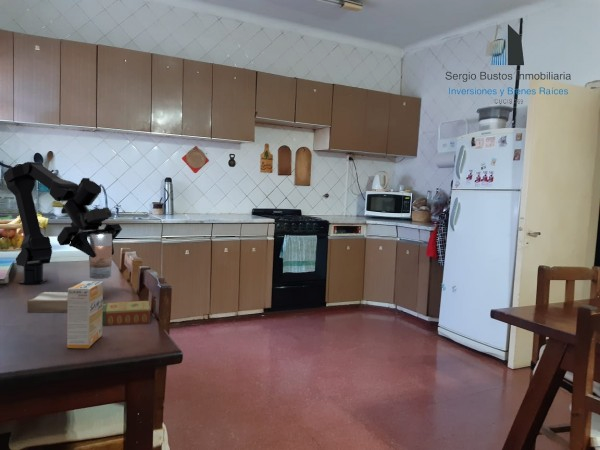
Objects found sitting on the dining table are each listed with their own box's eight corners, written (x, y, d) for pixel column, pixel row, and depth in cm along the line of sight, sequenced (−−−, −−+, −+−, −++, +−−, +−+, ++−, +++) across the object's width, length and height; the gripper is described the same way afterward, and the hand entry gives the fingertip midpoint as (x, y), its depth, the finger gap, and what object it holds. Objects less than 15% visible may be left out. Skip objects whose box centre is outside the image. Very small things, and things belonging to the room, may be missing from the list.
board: (42, 302, 128) (42, 291, 127) (79, 302, 129) (79, 291, 129) (27, 312, 118) (27, 300, 118) (68, 312, 120) (68, 300, 119)
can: (92, 274, 136) (93, 232, 135) (113, 274, 137) (114, 233, 136) (86, 278, 130) (87, 234, 129) (108, 279, 131) (109, 235, 130)
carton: (149, 324, 114) (150, 308, 114) (80, 328, 109) (80, 311, 108) (149, 315, 122) (149, 299, 121) (84, 318, 116) (84, 302, 116)
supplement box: (89, 349, 95) (90, 289, 94) (66, 348, 95) (66, 288, 93) (103, 336, 103) (104, 280, 102) (82, 335, 103) (82, 279, 102)
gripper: (63, 198, 125) (88, 241, 121) (118, 198, 142) (142, 236, 138) (46, 223, 130) (70, 266, 126) (101, 220, 146) (124, 258, 142)
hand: (103, 255), depth 133 cm, fingers closed on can, 6 cm apart
